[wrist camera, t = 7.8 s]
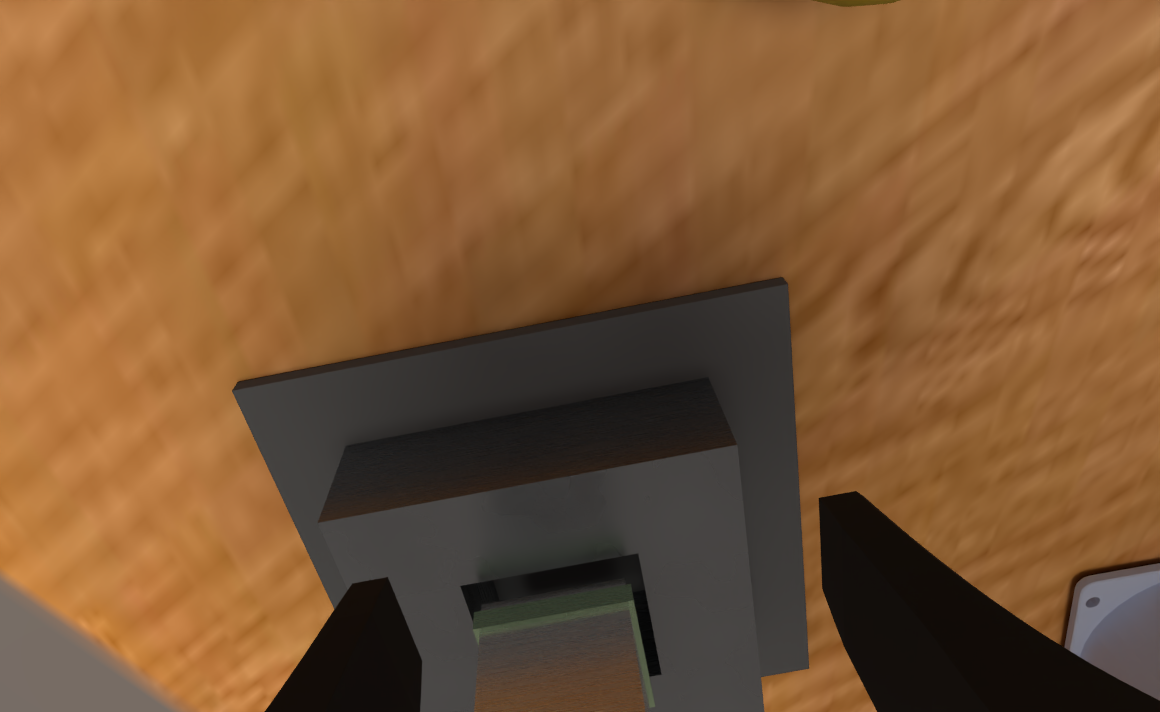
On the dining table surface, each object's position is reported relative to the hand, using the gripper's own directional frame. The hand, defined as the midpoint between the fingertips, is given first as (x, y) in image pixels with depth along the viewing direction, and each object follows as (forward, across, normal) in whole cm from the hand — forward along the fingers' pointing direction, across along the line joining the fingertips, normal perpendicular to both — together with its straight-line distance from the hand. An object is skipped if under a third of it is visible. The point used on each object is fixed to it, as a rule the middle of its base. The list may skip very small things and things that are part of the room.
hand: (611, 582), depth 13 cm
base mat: (+10, +2, +8) cm, 13 cm away
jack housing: (+10, +2, +8) cm, 13 cm away
